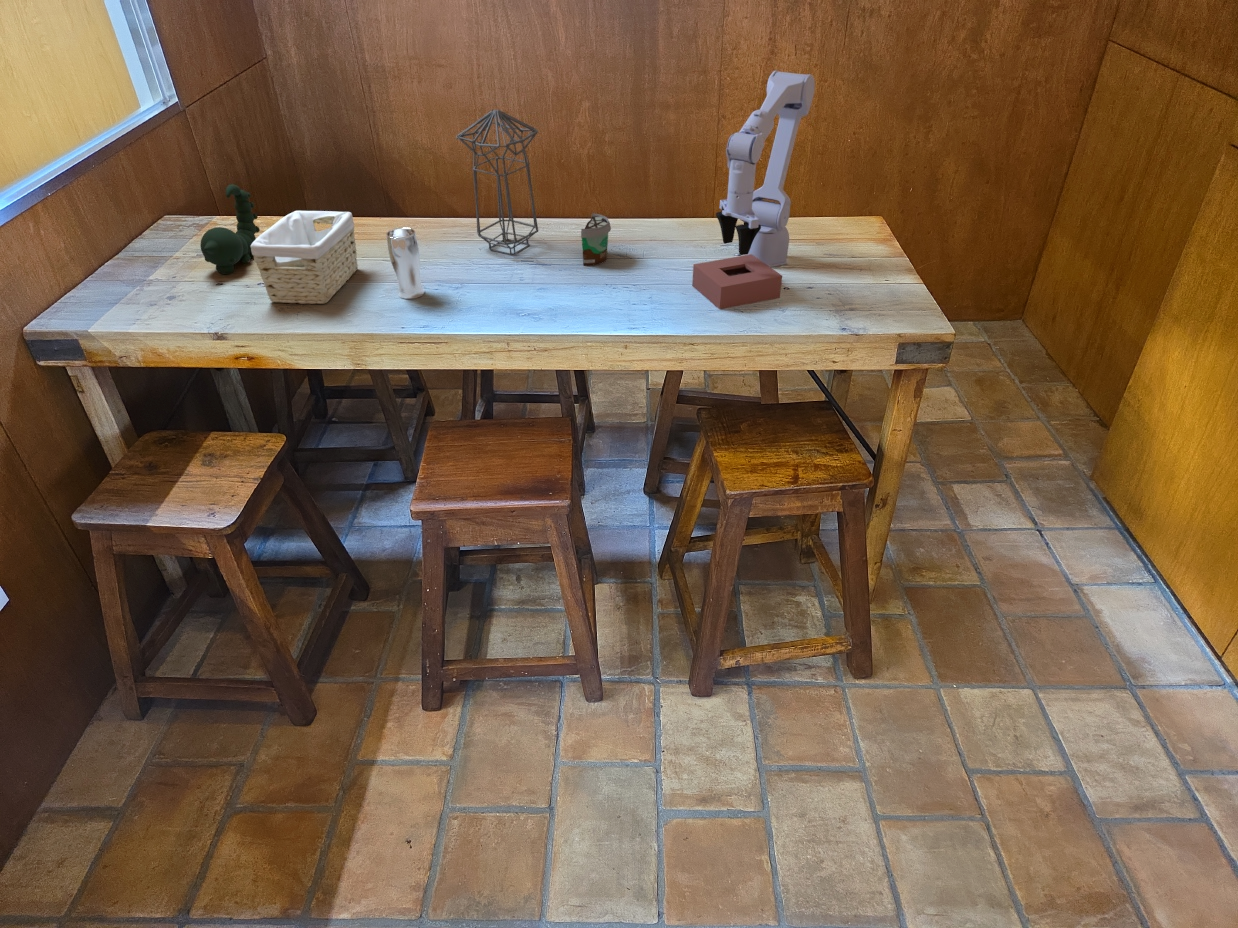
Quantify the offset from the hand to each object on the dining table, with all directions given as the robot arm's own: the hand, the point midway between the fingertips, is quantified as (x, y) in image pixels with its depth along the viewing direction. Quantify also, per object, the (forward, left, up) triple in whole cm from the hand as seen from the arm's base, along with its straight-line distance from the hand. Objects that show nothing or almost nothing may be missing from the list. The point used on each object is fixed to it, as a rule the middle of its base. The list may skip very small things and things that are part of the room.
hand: (735, 248), depth 184 cm
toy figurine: (+111, -62, -10) cm, 127 cm away
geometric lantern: (+44, -44, -10) cm, 63 cm away
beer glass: (+73, -26, -10) cm, 78 cm away
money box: (+1, +3, -10) cm, 10 cm away
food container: (+24, -28, -10) cm, 38 cm away
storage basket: (+93, -40, -10) cm, 102 cm away
